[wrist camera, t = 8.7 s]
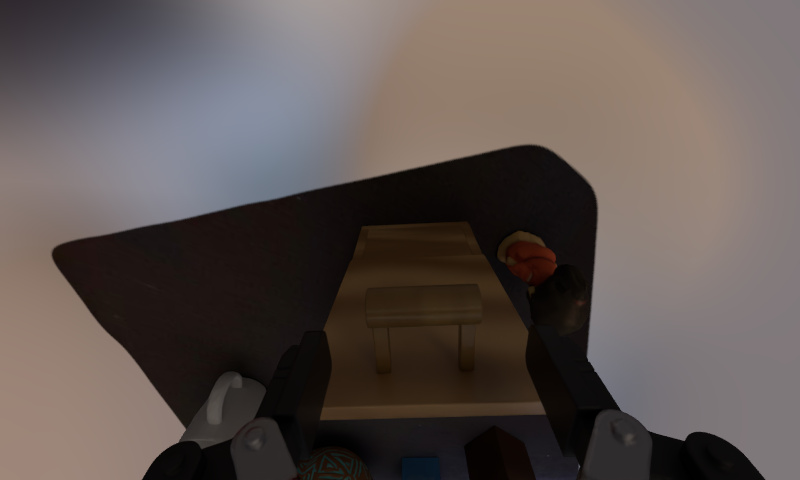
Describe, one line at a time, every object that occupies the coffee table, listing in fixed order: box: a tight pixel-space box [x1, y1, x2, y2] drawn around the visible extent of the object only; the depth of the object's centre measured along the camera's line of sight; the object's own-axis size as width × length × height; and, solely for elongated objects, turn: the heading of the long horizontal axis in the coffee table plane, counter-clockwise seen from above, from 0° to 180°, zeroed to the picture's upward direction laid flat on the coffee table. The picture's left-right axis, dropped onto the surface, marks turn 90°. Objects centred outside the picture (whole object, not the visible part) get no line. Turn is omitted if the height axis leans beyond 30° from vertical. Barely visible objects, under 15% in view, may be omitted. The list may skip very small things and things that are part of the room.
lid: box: [320, 255, 546, 420], centre depth 20 cm, size 16×12×5 cm
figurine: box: [497, 231, 590, 336], centre depth 32 cm, size 6×6×12 cm
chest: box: [352, 221, 482, 261], centre depth 36 cm, size 15×12×8 cm
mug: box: [179, 371, 266, 449], centre depth 43 cm, size 13×9×10 cm
